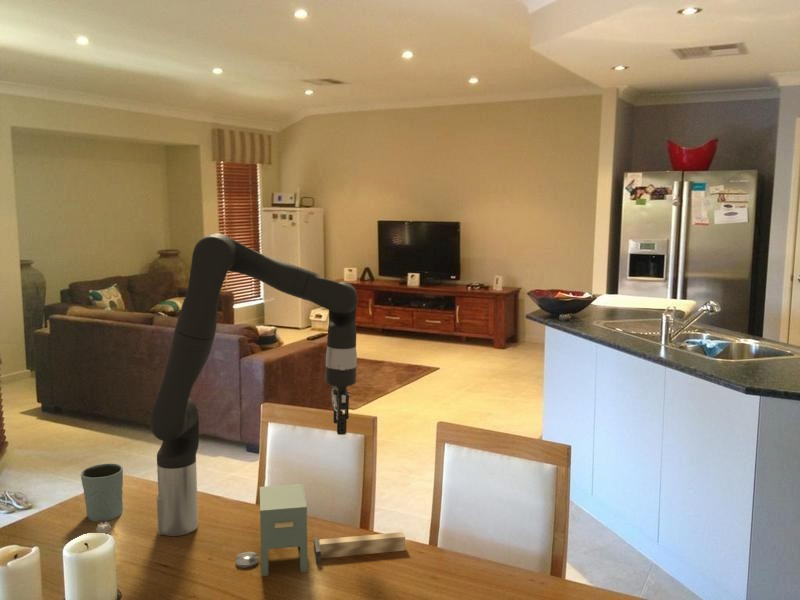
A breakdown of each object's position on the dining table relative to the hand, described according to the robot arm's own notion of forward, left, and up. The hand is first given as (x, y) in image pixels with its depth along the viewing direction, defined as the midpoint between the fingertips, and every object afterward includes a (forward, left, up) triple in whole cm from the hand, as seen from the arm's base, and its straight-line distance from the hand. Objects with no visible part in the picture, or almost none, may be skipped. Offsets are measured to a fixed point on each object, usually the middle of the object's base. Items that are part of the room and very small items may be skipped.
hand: (339, 428), depth 169 cm
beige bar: (+4, -13, -26) cm, 29 cm away
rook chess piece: (-55, -5, -26) cm, 61 cm away
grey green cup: (-60, +19, -26) cm, 68 cm away
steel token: (-23, -13, -26) cm, 37 cm away
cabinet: (-15, -13, -26) cm, 32 cm away
